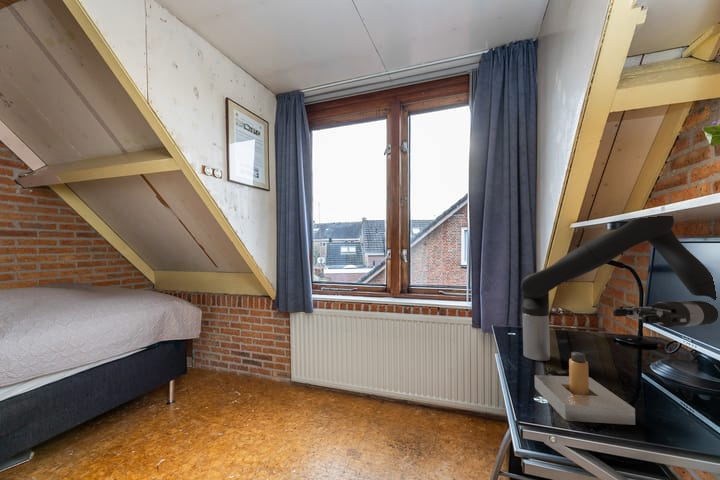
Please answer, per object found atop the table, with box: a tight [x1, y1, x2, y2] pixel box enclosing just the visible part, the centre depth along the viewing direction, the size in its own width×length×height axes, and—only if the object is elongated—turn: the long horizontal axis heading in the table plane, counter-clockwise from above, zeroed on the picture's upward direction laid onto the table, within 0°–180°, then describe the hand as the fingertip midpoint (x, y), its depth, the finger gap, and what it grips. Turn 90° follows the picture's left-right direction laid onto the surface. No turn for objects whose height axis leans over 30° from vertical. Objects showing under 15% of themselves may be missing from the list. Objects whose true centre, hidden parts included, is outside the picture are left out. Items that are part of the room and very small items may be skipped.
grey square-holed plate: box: [534, 374, 636, 426], centre depth 85 cm, size 18×16×4 cm
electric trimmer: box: [546, 368, 589, 376], centre depth 102 cm, size 4×16×3 cm, turn 102°
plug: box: [568, 351, 590, 396], centre depth 85 cm, size 4×4×14 cm
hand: (628, 315), depth 88 cm, fingers open, 8 cm apart
